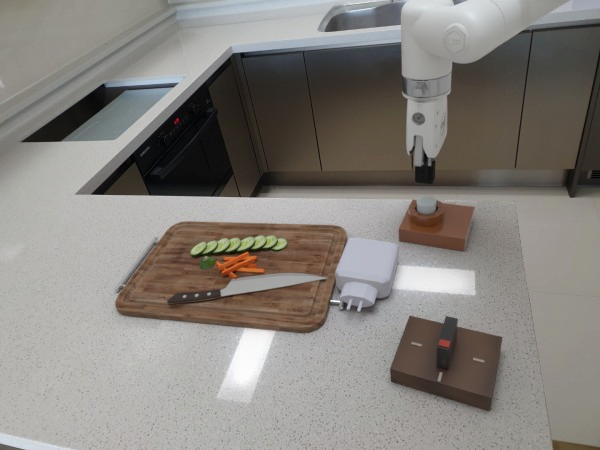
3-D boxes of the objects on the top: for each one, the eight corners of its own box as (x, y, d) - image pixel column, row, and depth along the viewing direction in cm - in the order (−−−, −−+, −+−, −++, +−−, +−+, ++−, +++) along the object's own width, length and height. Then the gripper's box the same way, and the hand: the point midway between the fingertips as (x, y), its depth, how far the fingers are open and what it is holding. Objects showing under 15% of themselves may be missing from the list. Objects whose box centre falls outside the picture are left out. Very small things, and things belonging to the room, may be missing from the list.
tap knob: (445, 335, 65) (445, 314, 63) (456, 338, 65) (458, 317, 62) (436, 366, 62) (436, 345, 59) (448, 370, 61) (449, 348, 58)
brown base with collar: (473, 219, 90) (475, 198, 87) (464, 251, 83) (465, 230, 80) (412, 211, 95) (412, 191, 92) (399, 241, 88) (398, 220, 85)
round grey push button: (438, 205, 87) (438, 196, 86) (433, 216, 85) (434, 207, 84) (419, 203, 89) (419, 194, 88) (414, 213, 87) (414, 204, 85)
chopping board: (362, 230, 92) (361, 218, 91) (337, 336, 72) (335, 323, 70) (167, 225, 106) (162, 214, 104) (100, 313, 85) (93, 301, 84)
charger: (326, 315, 75) (348, 255, 86) (382, 326, 72) (398, 263, 83) (324, 295, 72) (347, 236, 83) (382, 305, 69) (399, 243, 80)
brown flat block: (500, 350, 66) (502, 336, 64) (490, 411, 59) (492, 397, 57) (409, 328, 71) (409, 314, 69) (390, 381, 64) (389, 367, 63)
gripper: (440, 103, 66) (436, 207, 77) (460, 66, 76) (454, 162, 87) (389, 101, 69) (392, 201, 80) (414, 65, 79) (415, 158, 90)
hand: (424, 180), depth 84 cm, fingers closed
